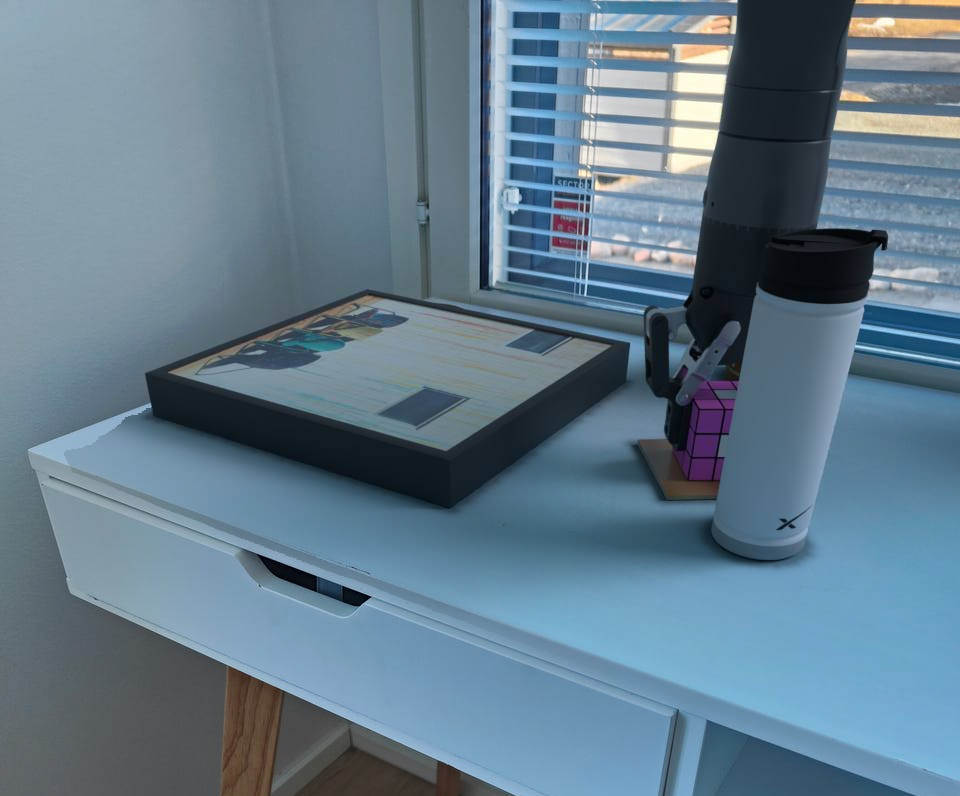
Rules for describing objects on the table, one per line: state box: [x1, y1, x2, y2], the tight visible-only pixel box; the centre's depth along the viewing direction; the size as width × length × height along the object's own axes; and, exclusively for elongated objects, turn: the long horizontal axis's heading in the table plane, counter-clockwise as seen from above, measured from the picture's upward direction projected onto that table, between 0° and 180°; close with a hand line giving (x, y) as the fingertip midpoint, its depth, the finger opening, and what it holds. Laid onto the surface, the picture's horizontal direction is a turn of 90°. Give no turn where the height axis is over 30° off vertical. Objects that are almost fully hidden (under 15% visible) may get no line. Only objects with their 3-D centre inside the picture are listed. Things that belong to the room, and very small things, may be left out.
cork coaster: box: [636, 438, 720, 501], centre depth 73 cm, size 10×10×1 cm
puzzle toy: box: [672, 380, 739, 481], centre depth 71 cm, size 6×6×6 cm
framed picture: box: [144, 288, 631, 509], centre depth 83 cm, size 30×4×30 cm
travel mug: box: [710, 227, 889, 561], centre depth 58 cm, size 6×7×20 cm
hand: (718, 445), depth 72 cm, fingers closed on puzzle toy, 6 cm apart
